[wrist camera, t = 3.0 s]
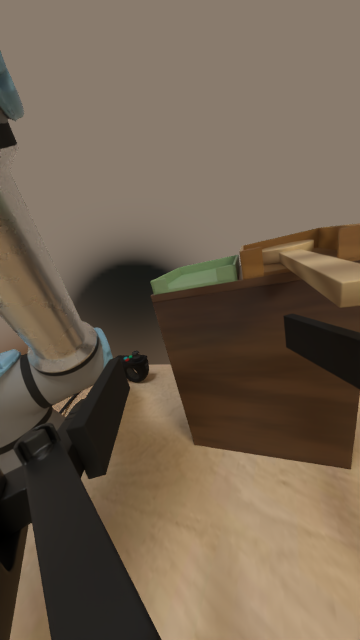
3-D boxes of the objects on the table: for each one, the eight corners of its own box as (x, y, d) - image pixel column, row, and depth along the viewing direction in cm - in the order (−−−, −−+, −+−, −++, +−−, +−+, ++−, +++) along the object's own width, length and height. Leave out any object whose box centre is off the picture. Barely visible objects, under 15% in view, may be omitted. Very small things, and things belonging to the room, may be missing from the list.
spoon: (481, 294, 7) (496, 249, 6) (284, 313, 9) (283, 282, 9) (305, 251, 27) (305, 239, 26) (257, 260, 29) (256, 250, 28)
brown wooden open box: (243, 265, 31) (241, 246, 30) (320, 249, 27) (320, 227, 26) (242, 279, 20) (239, 251, 19) (367, 258, 17) (371, 221, 16)
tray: (181, 277, 35) (178, 267, 34) (239, 265, 31) (238, 254, 30) (154, 295, 25) (150, 281, 24) (237, 280, 21) (235, 264, 20)
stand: (206, 396, 45) (178, 277, 35) (320, 402, 36) (325, 248, 27) (194, 444, 34) (150, 295, 25) (350, 469, 26) (376, 257, 16)
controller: (149, 386, 54) (138, 356, 50) (117, 382, 59) (105, 356, 56) (156, 376, 57) (146, 348, 54) (125, 373, 63) (115, 348, 59)
